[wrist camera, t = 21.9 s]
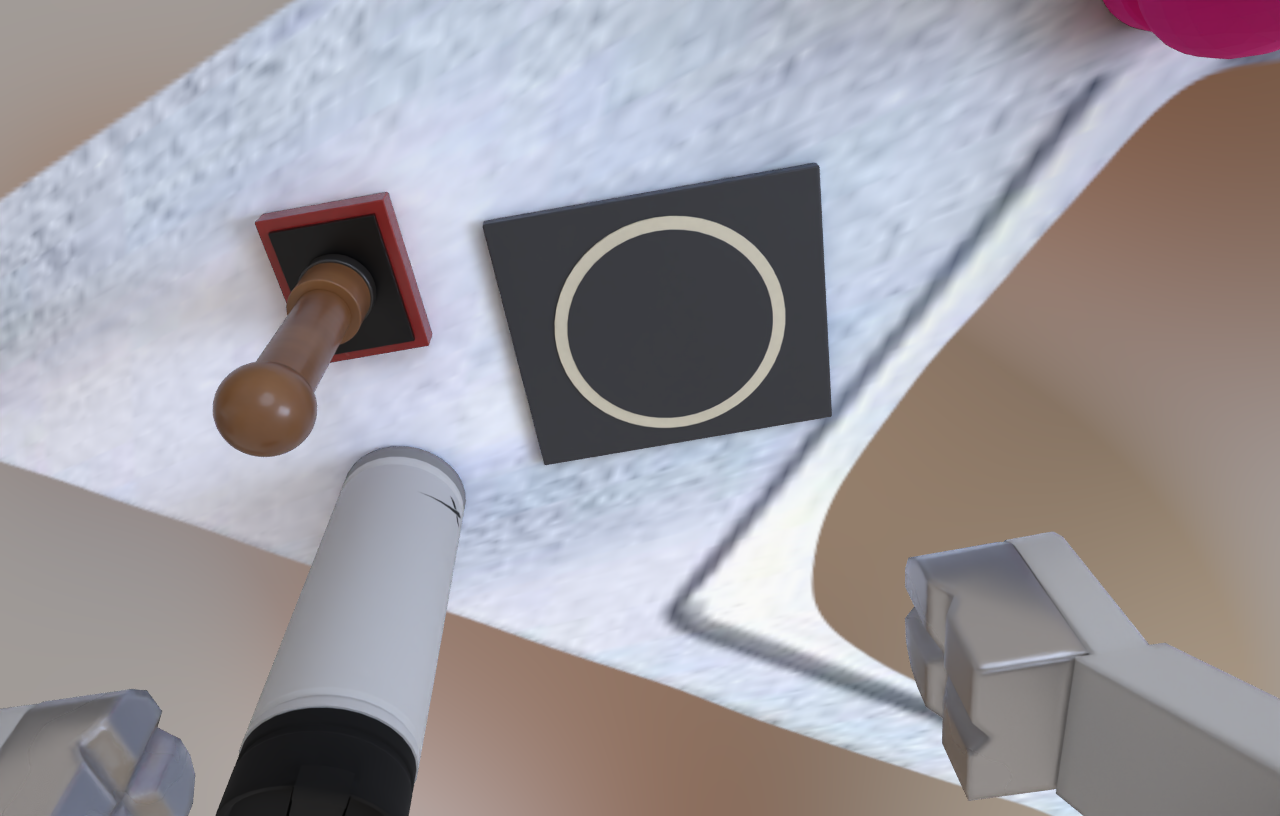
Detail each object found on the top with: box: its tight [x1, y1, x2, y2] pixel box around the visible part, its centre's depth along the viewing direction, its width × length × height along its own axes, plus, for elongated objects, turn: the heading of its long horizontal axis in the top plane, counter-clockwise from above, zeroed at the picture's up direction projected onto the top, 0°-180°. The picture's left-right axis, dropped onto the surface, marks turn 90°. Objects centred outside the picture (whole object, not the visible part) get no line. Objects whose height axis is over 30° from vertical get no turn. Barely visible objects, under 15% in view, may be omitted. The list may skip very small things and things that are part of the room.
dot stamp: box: [213, 254, 376, 457], centre depth 33 cm, size 3×3×12 cm
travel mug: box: [216, 447, 466, 816], centre depth 37 cm, size 6×7×20 cm
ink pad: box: [255, 192, 432, 363], centre depth 39 cm, size 7×6×2 cm
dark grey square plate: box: [483, 163, 832, 465], centre depth 41 cm, size 13×15×1 cm
